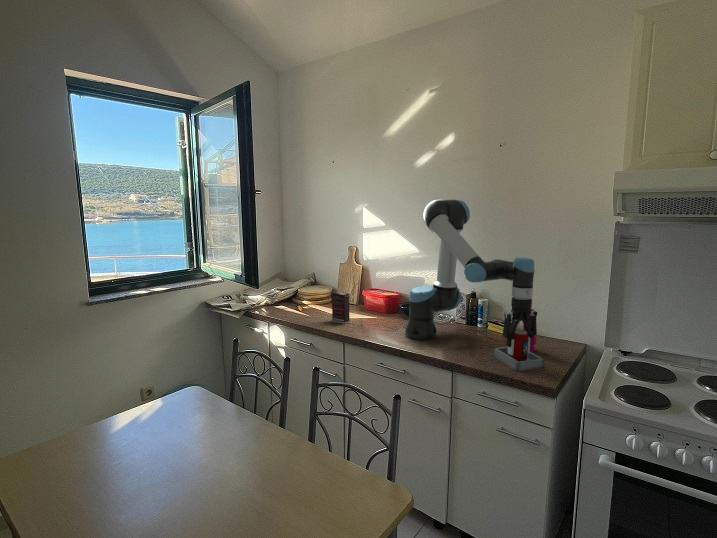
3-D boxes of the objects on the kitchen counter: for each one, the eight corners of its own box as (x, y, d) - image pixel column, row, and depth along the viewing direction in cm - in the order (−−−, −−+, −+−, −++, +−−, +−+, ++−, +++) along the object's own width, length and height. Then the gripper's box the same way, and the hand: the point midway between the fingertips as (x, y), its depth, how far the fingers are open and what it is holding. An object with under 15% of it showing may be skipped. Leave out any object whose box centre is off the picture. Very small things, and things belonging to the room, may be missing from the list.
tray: (493, 356, 170) (493, 348, 169) (517, 353, 173) (518, 345, 173) (517, 371, 155) (517, 362, 154) (543, 368, 158) (544, 359, 157)
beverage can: (528, 364, 160) (530, 334, 158) (510, 362, 161) (512, 333, 159) (525, 357, 166) (527, 329, 164) (507, 356, 168) (509, 328, 166)
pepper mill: (520, 345, 183) (523, 302, 179) (537, 349, 178) (541, 304, 175) (515, 350, 177) (518, 305, 174) (532, 353, 173) (536, 308, 169)
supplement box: (350, 321, 219) (349, 293, 216) (344, 324, 215) (344, 294, 212) (337, 319, 223) (336, 291, 221) (331, 321, 219) (331, 292, 217)
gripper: (505, 301, 153) (502, 359, 157) (549, 297, 159) (545, 354, 162) (494, 296, 161) (491, 352, 164) (536, 293, 166) (533, 347, 169)
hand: (518, 353), depth 163 cm, fingers closed on beverage can, 7 cm apart
